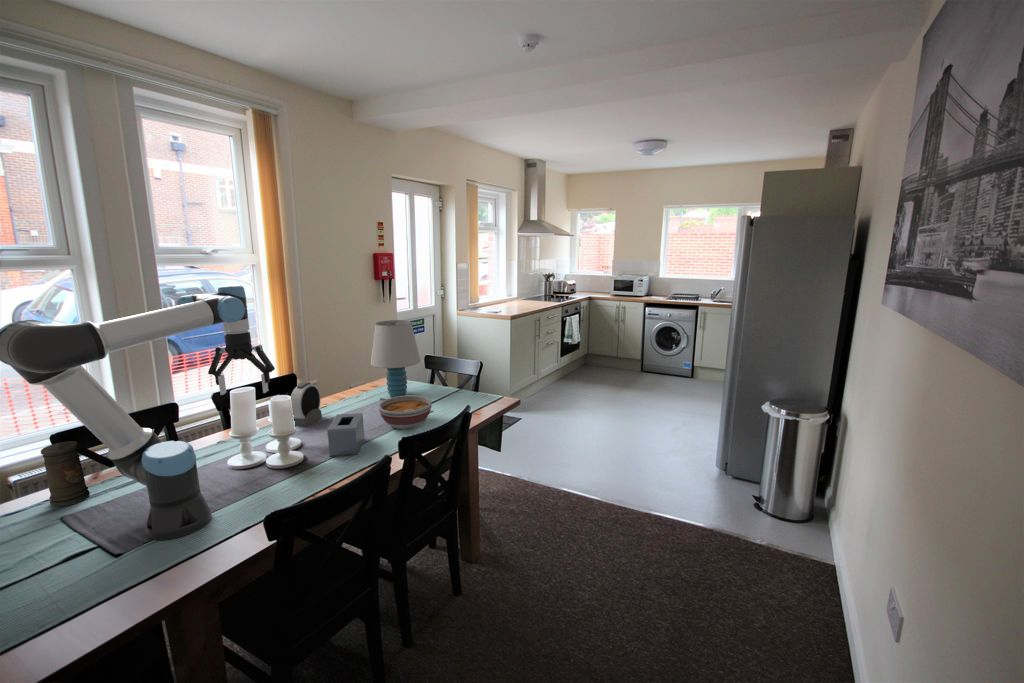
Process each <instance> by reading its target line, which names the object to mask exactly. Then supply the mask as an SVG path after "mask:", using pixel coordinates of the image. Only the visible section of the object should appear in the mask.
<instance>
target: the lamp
mask: <svg viewBox="0 0 1024 683" xmlns="http://www.w3.org/2000/svg"><path fill="white" fill-rule="evenodd" d="M374 324H375V326H374V332H373V340H372V341H373V342H372V348H371V357H370V365H371V366H372V367H374V368H380V369H386V370H387V372H386V377H385V378H386V386H387V388H386V389H387V393H388V395H389V397H390V398H393V397H398V396H407V392H408V390H407V388H408V385H407V384H408V381H407V380H408V376H407V371H406V368H407V367H412V366H416V365H418V364H420V362H421V357H420V354H419V353H420V352H419V348H418V345H417V341H416V337H415V333H414V329H413V324H412V322H411V321H410V320H407V319H406V320H404V319H393V320H382V321H377V322H375V323H374Z"/></svg>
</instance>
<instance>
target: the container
mask: <svg viewBox="0 0 1024 683" xmlns="http://www.w3.org/2000/svg"><path fill="white" fill-rule="evenodd" d="M78 451H79V443H78V442H77V441H75V440H74V441H73V440H71V441H70V440H69V441H61V442H57V443H53V444H50V445H47V446H45V447H42V448H41V450H40V454H41V455H42V458H43V460H44V463H43V464H44V467H45V473H46V477H47V481H48V491H49V493H50V496H49V498H48V499H49V500H50V501H49V504H50V506H51V507H53V508H59V507H60V508H61V507H66V506H70V505H75V504H77V503H79V502H82V501H83V500H85V499H87V498H88V497H89V496H90V494H91V492H90V491H89V487H88V486H87V485H86V478H85V477H84V472H83V468H82V463H81V458H80V454H79V452H78Z"/></svg>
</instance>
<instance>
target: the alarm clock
mask: <svg viewBox="0 0 1024 683" xmlns="http://www.w3.org/2000/svg"><path fill="white" fill-rule="evenodd" d="M290 397H291V399H292V408H293V415H294V421H295V426H294V427H296V426H299V427H300V428H308V427H311V426H313V425H315V424H317V423H319V422H320V421H321V420H322V419H323V414H322V410H321V409H320V406H321V393H320V390H319V388H318V387H317V386H316V385H315V384H312V383H311V382H309V381H307V382H306V381H301V382H300V383H298V385H297V386H296V387H295V388H294V389H293V390H292V392H291V394H290ZM299 427H298V428H299Z"/></svg>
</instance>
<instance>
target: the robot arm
mask: <svg viewBox="0 0 1024 683" xmlns="http://www.w3.org/2000/svg"><path fill="white" fill-rule="evenodd" d="M246 295H247V294H246V292H245V288H244V286H243V285H239V284H231V285H230V284H229V285H228V284H225V285H220V286H218V287H217V292H213V293H201V294H200V293H199V294H189V295H187V294H186V295H182V296H179V297H178V299H177V301H176V306H170V307H166V308H165V307H164V308H161V309H156V310H151V311H148V312H143V313H138V314H135V315H134V314H133V315H130V316H125V317H120V318H116V319H110V320H107V321H102V322H98V323H94V322H92V321H90V320H89V321H88V320H86V321H81V322H78V323H77V322H76V323H69V324H68V323H66V324H64V323H63V324H53V323H48V322H44V321H40V320H36V319H35V320H34V319H25V320H17V321H13V322H10V323H8V324H6V325H4V326H2V327H1V328H0V362H2V363H4V365H8V366H9V367H11V368H12V369H13V370H14V371H16V373H17V374H19V376H20V377H22V378H23V379H24V380H25V381H26V382H27V383H29V385H34V386H35V385H36V386H42V387H44V388H45V389H46V390H47V391H48V392H49V393H50V394H51V396H53V397H54V398H55V399H56V400H57V401H58V402H59V403H60V404H62V405H63V407H65V408H66V409H67V411H69V413H71V414H72V415H73V416H74V417H75V418H76V419H77V420H78V421H79V422H80V423H81V424H82V425H83V426H84V427H85V428H87V430H89V431H90V432H91V433H92V435H94V436H95V437H96V438H97V439H98V440H99V441H100V442H101V443H102V444H103V445H104V446H105V447H107V449H108V450H107V454H106V456H107V458H108V459H109V460H110V461H111V462H112V463H113V464H114V466H115V468H116V469H117V471H118V472H119V473H120V474H121V475H122V476H123V477H126V478H128V479H131V480H133V481H135V482H138V483H140V484H141V485H143V486H144V487H145V486H146V490H147V494H148V500H149V506H150V508H149V510H148V511H149V512H148V515H147V516H148V517H147V521H146V524H145V531H146V536H147V537H148V538H149V539H151V540H154V541H166V540H173V539H178V538H181V537H184V536H187V535H190V534H192V533H194V532H197V531H198V530H200V529H202V528H203V527H204V526H206V525H207V524H208V523H209V522H210V521H211V519H212V515H213V514H212V510H211V507H210V505H209V503H208V502H207V500H206V499H205V497H204V495H203V494H202V491H201V485H200V479H199V473H198V467H197V466H198V465H197V454H196V453H195V450H194V447H193V446H192V445H191V444H190V443H189V442H186V441H183V440H177V441H175V440H167V441H163V440H162V439H161V438H160V437H159V436H158V435H157V434H156V433H155V431H153V430H152V428H150V427H141V426H140V425H139V424H138V422H136V421H135V420H134V419H133V417H131V415H129V413H128V412H127V411H126V410H124V408H123V407H122V406H121V405H120V404H119V403H118V401H116V400H115V399H114V397H113V396H111V394H109V393H108V391H107V390H106V389H105V388H104V387H103V386H102V385H101V384H100V383H99V382H98V381H97V380H96V379H95V378H94V377H93V376H92V375H91V374H90V372H89V371H88V370H86V368H85V367H84V366H83V365H86V364H90V363H94V362H97V361H100V360H104V359H105V358H106V357H107V356H108V355H109V354H110V353H113V352H114V353H115V352H116V351H121V350H124V349H129V348H132V347H135V346H139V345H144V344H147V343H149V342H153V341H158V340H162V339H165V338H169V337H172V336H176V335H181V334H183V333H187V332H191V331H194V330H199V329H203V328H206V327H211V326H213V325H218V324H221V323H222V328H223V332H224V334H223V335H224V343H225V346H222V345H219V346H217V347H215V351H214V352H215V354H214V357H213V359H212V362H211V364H210V367H209V369H208V373H207V374H208V375H211V376H212V375H213V377H214V378H215V379H214V380H215V384H216V385H217V386H218V388H219V393H220V394H219V395H220V396H223V395H225V394H226V393H227V385H226V381H225V380H226V379H225V374H223V372H224V370H226V368H228V365H230V362H232V360H235V361H236V360H248V361H250V362H251V363H252V365H254V366H255V367H256V368H257V369H258V370H259V371H260V372H262V373H261V374H260V376H261V385H262V393H263V394H266V393H267V392H269V383H270V381H271V377H270V376H271V375H270V373H272V372H273V371H275V366H274V364H273V362H271V361H270V359H269V358H268V356H267V354H266V352H265V351H264V349H263V345H262V344H258V345H254V346H253V344H252V338H251V332H250V331H249V330H250V329H251V328H250V321H249V314H248V312H249V311H248V305H247V296H246ZM253 351H254V352H255V353H256V354H257V356H258V357H259V359H260V360H261V361H260V360H259V359H258V357H256V354H254V353H253ZM224 353H226V354H227V356H226V357H225V359H224V360H223V361H222V363H221V364H220V366H219V363H220V361H221V358H222V357H223V354H224ZM218 366H219V367H218Z"/></svg>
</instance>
